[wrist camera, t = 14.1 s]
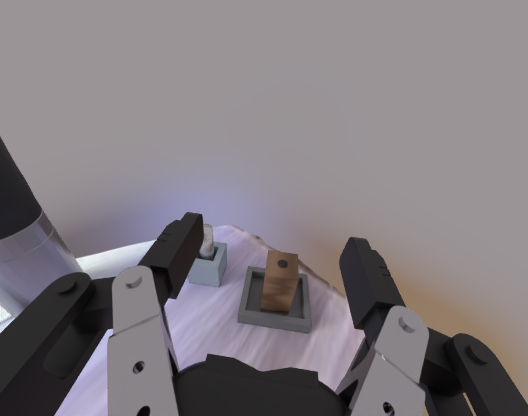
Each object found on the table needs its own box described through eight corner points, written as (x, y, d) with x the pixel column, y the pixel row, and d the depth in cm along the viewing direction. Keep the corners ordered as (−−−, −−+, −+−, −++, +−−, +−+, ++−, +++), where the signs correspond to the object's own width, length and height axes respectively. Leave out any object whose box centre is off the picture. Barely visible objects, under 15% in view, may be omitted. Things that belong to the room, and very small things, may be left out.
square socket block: (189, 282, 40) (185, 262, 37) (200, 259, 45) (197, 239, 42) (219, 287, 40) (217, 267, 36) (227, 263, 45) (226, 243, 41)
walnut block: (260, 309, 36) (265, 274, 30) (263, 285, 40) (268, 249, 35) (288, 314, 36) (298, 279, 30) (288, 289, 40) (297, 254, 34)
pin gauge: (200, 276, 41) (194, 232, 34) (205, 266, 44) (200, 223, 37) (213, 278, 41) (209, 234, 34) (217, 268, 43) (214, 225, 37)
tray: (237, 322, 35) (238, 314, 33) (247, 273, 43) (248, 266, 41) (308, 333, 34) (311, 326, 33) (304, 282, 42) (307, 274, 41)
